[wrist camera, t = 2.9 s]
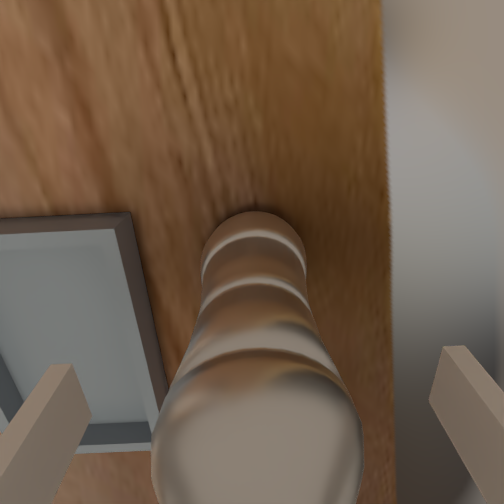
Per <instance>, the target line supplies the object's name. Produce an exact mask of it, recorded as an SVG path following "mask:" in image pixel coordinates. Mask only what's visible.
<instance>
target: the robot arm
mask: <svg viewBox="0 0 504 504" xmlns="http://www.w3.org/2000/svg"><path fill="white" fill-rule="evenodd" d="M428 401H429V403H430V405H431V407H432V408H433V410H434V412H435V414H436V415H437V417H438V419H439V420H440V422H441V424H442V426H443V427H444V429H445V431H446V433H447V434H448V436H449V438H450V440H451V441H452V443H453V445H454V447H455V449H456V450H457V452H458V454H459V455H460V457H461V459H462V461H463V463H464V464H465V466H466V468H467V470H468V471H469V473H470V475H471V477H472V478H473V480H474V482H475V484H476V485H477V487H478V489H479V491H480V492H481V494H482V496H483V498H484V499H485V501H486V503H487V504H504V392H503V391H502V390H501V388H500V387H499V386H498V385H497V384H496V382H495V381H494V380H493V379H492V378H491V376H489V374H488V373H487V372H486V371H485V369H484V368H483V367H482V366H481V365H480V363H479V362H478V361H477V360H476V359H475V357H474V356H473V355H472V354H471V352H470V351H469V350H468V349H467V348H466V346H464V345H461V346H443V347H442V351H441V355H440V359H439V363H438V366H437V370H436V374H435V377H434V381H433V385H432V389H431V392H430V396H429V400H428ZM91 417H92V414H91V411H90V409H89V406H88V403H87V401H86V398H85V396H84V393H83V390H82V388H81V385H80V383H79V380H78V377H77V375H76V372H75V370H74V367H73V364H72V363H70V364H51V365H50V366H49V368H48V369H47V370H46V372H45V373H44V375H43V376H42V378H41V379H40V380H39V382H38V383H37V385H36V386H35V388H34V389H33V390H32V392H31V393H30V395H29V396H28V398H27V399H26V400H25V402H24V403H23V405H22V406H21V408H20V409H19V410H18V412H17V413H16V415H15V416H14V418H13V419H12V420H11V422H10V423H9V425H8V426H7V428H6V429H5V430H4V432H3V433H2V435H1V436H0V504H51V503H52V501H53V499H54V497H55V495H56V492H57V490H58V488H59V486H60V484H61V482H62V480H63V477H64V475H65V473H66V471H67V469H68V467H69V465H70V462H71V460H72V458H73V456H74V454H75V452H76V450H77V447H78V445H79V443H80V441H81V439H82V437H83V435H84V432H85V430H86V428H87V426H88V424H89V422H90V420H91Z"/></svg>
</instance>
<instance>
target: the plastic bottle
mask: <svg viewBox="0 0 504 504" xmlns="http://www.w3.org/2000/svg"><path fill="white" fill-rule="evenodd" d="M306 270H307V263H306V253H305V247H304V245H303V243H302V240H301V238H300V237H299V236H298V234H297V233H296V232H295V230H294V229H293V228H292V227H291V226H290V225H289V224H288V223H287V222H286V221H284V220H283V219H281V218H280V217H278V216H276V215H274V214H270V213H267V212H260V211H250V212H244V213H240V214H237V215H235V216H232V217H230V218H228V219H227V220H226V221H224V222H223V223H221V224H220V225H219V226H218V228H217V229H216V230H215V231H214V232H213V233H212V235H211V236H210V237H209V239H208V241H207V242H206V244H205V246H204V249H203V252H202V256H201V282H202V295H201V306H200V312H199V315H198V318H197V322H196V325H195V327H194V331H193V334H192V337H191V340H190V344H189V346H188V349H187V351H186V353H185V355H184V357H183V360H182V362H181V364H180V366H179V368H178V371H177V373H176V375H175V377H174V379H173V382H172V384H171V386H170V388H169V391H168V393H167V395H166V397H165V399H164V402H163V405H162V407H161V410H160V413H159V416H158V419H157V422H156V424H155V427H154V430H153V432H152V436H151V479H152V483H153V486H154V490H155V493H156V496H157V499H158V502H159V504H356V500H357V496H358V492H359V488H360V485H361V481H362V476H363V470H364V436H363V429H362V422H361V420H360V418H359V415H358V413H357V411H356V408H355V406H354V403H353V401H352V398H351V396H350V394H349V392H348V390H347V388H346V386H345V385H344V383H343V381H342V379H341V377H340V375H339V373H338V371H337V369H336V367H335V365H334V363H333V361H332V359H331V357H330V355H329V353H328V351H327V350H326V348H325V346H324V344H323V342H322V340H321V337H320V334H319V331H318V329H317V326H316V323H315V320H314V318H313V316H312V312H311V309H310V306H309V304H308V296H307V288H306Z"/></svg>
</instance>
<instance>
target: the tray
mask: <svg viewBox="0 0 504 504" xmlns="http://www.w3.org/2000/svg"><path fill="white" fill-rule="evenodd" d="M70 363H72V364H73V367H74V370H75V372H76V375H77V377H78V380H79V383H80V385H81V388H82V390H83V393H84V396H85V398H86V401H87V403H88V406H89V409H90V411H91V414H92V417H91V420H90V422H89V424H88V426H87V428H86V430H85V432H84V435H83V437H82V439H81V441H80V443H79V445H78V447H77V450H76V452H75V454H80V453H102V452H125V451H147V450H151V436H152V432H153V430H154V427H155V424H156V422H157V419H158V416H159V413H160V410H161V407H162V405H163V402H164V399H165V397H166V395H167V393H168V391H169V390H168V385H167V380H166V376H165V371H164V367H163V362H162V357H161V353H160V348H159V343H158V339H157V334H156V330H155V325H154V320H153V316H152V311H151V307H150V302H149V297H148V293H147V288H146V283H145V279H144V274H143V270H142V265H141V260H140V256H139V251H138V246H137V242H136V237H135V233H134V228H133V223H132V219H131V214H130V212H120V213H100V214H81V215H61V216H41V217H22V218H2V219H0V431H1V433H3V432H4V430H5V429H6V428H7V426H8V425H9V423H10V422H11V420H12V419H13V418H14V416H15V415H16V413H17V412H18V410H19V409H20V408H21V406H22V405H23V403H24V402H25V400H26V399H27V398H28V396H29V395H30V393H31V392H32V390H33V389H34V388H35V386H36V385H37V383H38V382H39V380H40V379H41V378H42V376H43V375H44V373H45V372H46V370H47V369H48V368H49V366H50V365H51V364H70Z"/></svg>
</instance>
